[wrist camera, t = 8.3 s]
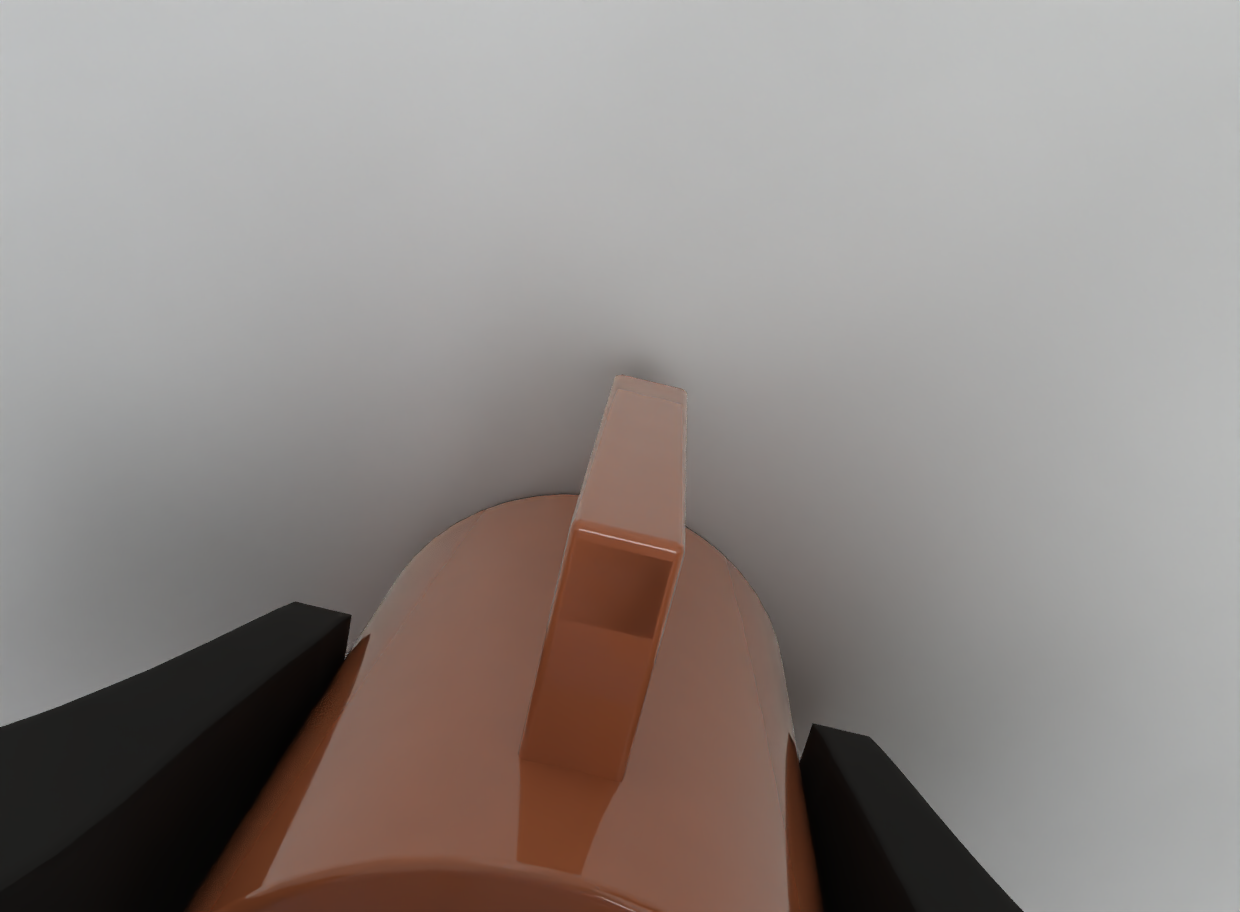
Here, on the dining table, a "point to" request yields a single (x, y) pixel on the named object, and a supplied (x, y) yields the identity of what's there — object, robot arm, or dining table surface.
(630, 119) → the dining table surface
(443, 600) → the double-handled copper mug
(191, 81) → the dining table surface
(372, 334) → the dining table surface
